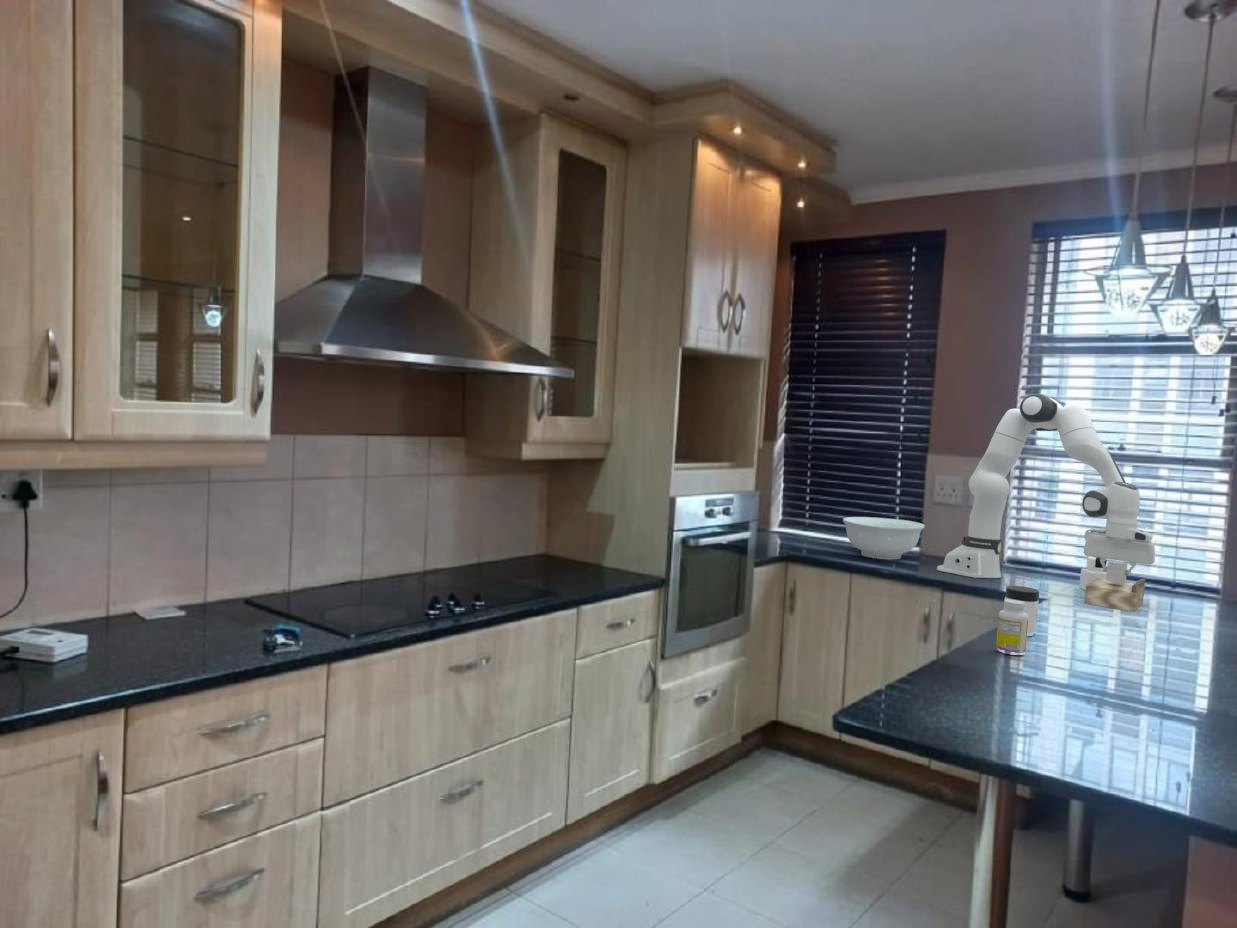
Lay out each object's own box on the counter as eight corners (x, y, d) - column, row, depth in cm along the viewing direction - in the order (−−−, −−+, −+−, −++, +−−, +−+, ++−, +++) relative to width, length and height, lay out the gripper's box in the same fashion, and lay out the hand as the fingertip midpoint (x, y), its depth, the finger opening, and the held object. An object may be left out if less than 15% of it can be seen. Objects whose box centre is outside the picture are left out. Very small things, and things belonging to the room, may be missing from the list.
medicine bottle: (1099, 589, 305) (1103, 556, 304) (1109, 593, 298) (1112, 559, 297) (1078, 588, 306) (1082, 554, 305) (1087, 592, 299) (1091, 558, 298)
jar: (1043, 635, 229) (1047, 591, 229) (1022, 637, 226) (1026, 593, 225) (1015, 627, 237) (1018, 584, 237) (994, 629, 234) (998, 585, 233)
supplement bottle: (1010, 648, 214) (1014, 598, 213) (1031, 656, 208) (1036, 604, 207) (989, 649, 211) (993, 598, 211) (1010, 657, 205) (1014, 604, 204)
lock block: (1105, 580, 281) (1107, 562, 280) (1108, 578, 284) (1110, 560, 284) (1123, 583, 277) (1125, 564, 277) (1125, 581, 281) (1127, 563, 281)
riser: (1084, 603, 278) (1086, 579, 277) (1095, 595, 293) (1097, 572, 293) (1134, 611, 269) (1136, 586, 269) (1142, 602, 285) (1145, 579, 284)
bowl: (824, 552, 351) (827, 517, 351) (866, 547, 374) (869, 514, 373) (896, 566, 328) (899, 528, 327) (936, 560, 350) (939, 524, 349)
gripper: (1083, 528, 284) (1079, 569, 285) (1155, 537, 271) (1151, 580, 272) (1087, 527, 289) (1083, 567, 290) (1158, 535, 276) (1153, 577, 277)
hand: (1116, 573), depth 281 cm, fingers closed on lock block, 5 cm apart
